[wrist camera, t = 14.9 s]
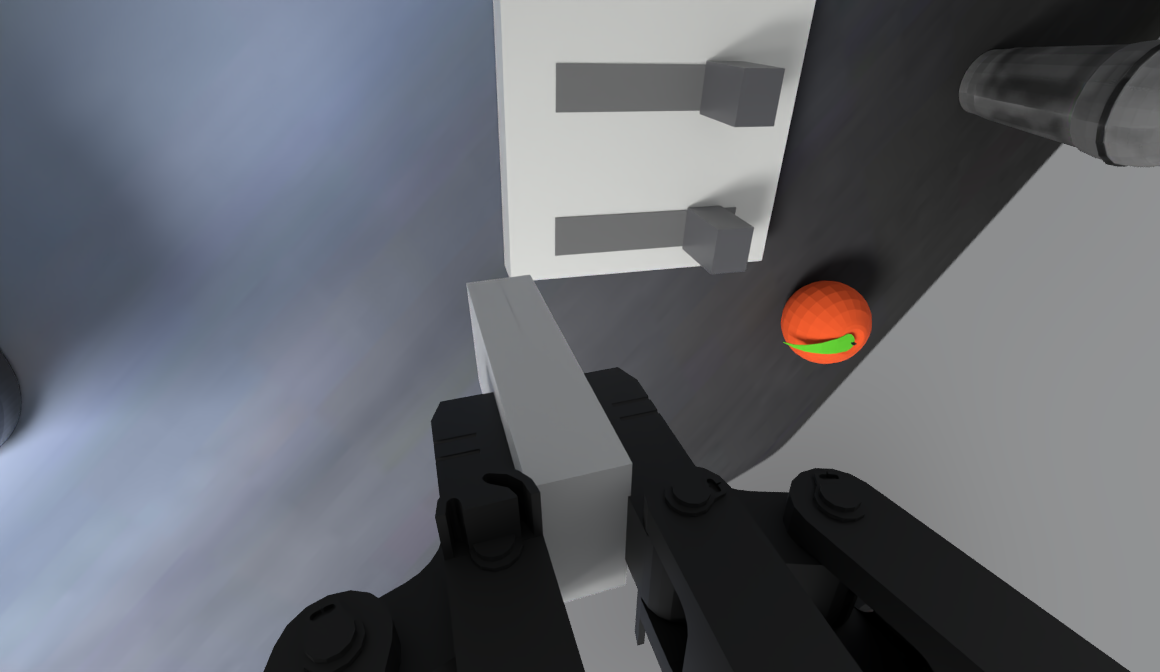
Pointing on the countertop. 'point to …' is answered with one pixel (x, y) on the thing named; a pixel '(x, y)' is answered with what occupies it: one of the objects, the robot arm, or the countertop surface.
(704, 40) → the breaker panel
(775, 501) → the robot arm
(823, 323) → the clementine
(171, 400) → the countertop surface
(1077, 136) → the beverage cup
